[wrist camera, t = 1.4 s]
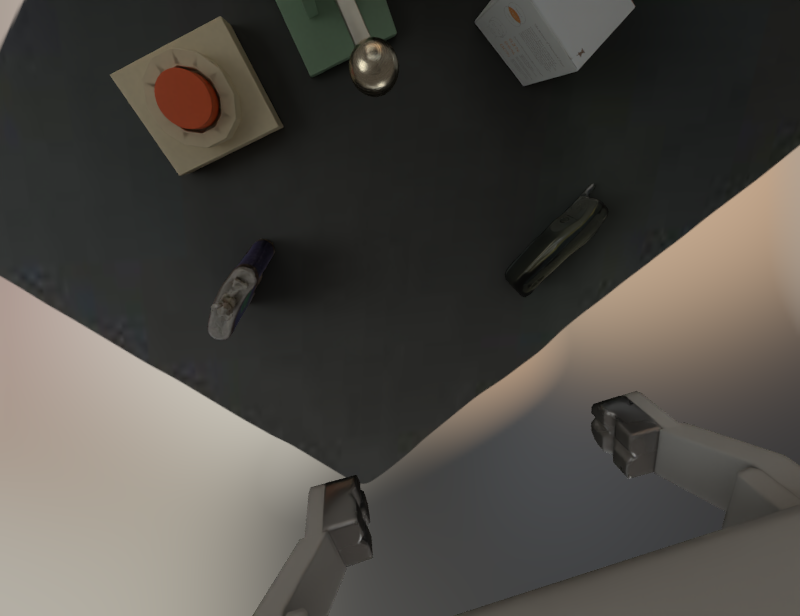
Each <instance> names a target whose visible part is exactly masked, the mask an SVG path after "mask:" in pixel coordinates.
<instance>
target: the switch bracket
mask: <svg viewBox="0 0 800 616" xmlns="http://www.w3.org/2000/svg"><path fill="white" fill-rule="evenodd" d="M355 1H356V3H357V6H358V8H359V10H360V13H361V15H362V17H363V19H364V22H365V24H366V26H367V29H368V31H369V33H370V36H371V37H379V38H382V39H384V40H385V41H386V40H388V39H390V38H392V37H394V36H396V33H397V31H396V28H395V25H394V23H393V20H392V17H391V14H390V11H389V8H388V5H387V2H386V0H355ZM276 3H277V5H278V7H279V9H280V11H281V13H282V16H283V18H284V20H285V22H286V24H287V27H288V29H289V31H290V33H291V35H292V37H293V40H294V42H295V44H296V46H297V48H298V51H299V53H300V55H301V57H302V59H303V61H304V64H305V66H306V68H307V70H308V72H309V75H310V76H311V78H313V77H315V76H317V75H319V74H321V73H323V72H324V71H326V70H328V69H330V68H332V67H334V66H336V65H338V64H340V63H342V62H344V61H346V60H348V59H350V55H351V52H352V50H353V48H354V47H355V46H354V44H353V42H352V39H351V37H350V35H349V32H348V30H347V28H346V25H345V23H344V21H343V19H342V16H341V14H340V12H339V9H338V7H337V5H336V2H335V0H276Z"/></svg>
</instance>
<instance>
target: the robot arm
mask: <svg viewBox="0 0 800 616" xmlns="http://www.w3.org/2000/svg"><path fill="white" fill-rule="evenodd" d="M591 413H592V414H593V415H594V416H595V419H594V420H593V421H592V423H591V430H592V433H593V436H594V439H595V440H596V442H597V444H598V445H599V446H600V447H601V449H602V450H603V451H605V452H607V453H610V454H611V455H613V462H614V463H615V465H616V466H617V467H618V468H619V469H620V470H621V471H622V472H623V473H624V475H625V476H626V477H627V478H628V479H629V478H634V477H637V476H641V475H644V474H648V473H651V472H654V473H655V474H657V475H658V476H660V477H662V478H664V479H666V480H668V481H670V482H672V483H673V484H675V485H677V486H679V487H681V488H683V489H685V490H687V491H688V492H690V493H692V494H694V495H696V496H698V497H700V498H701V499H703V500H705V501H707V502H709V503H711V504H713V505H714V506H716V507H718V508H720V509H722V510H724V511H726V514H725V518H724V521H723V526H722V529H721V530H718V531H715V532H712V533H709V534H706V535H703V536H699V537H696V538H693V539H690V540H687V541H684V542H681V543H678V544H675V545H672V546H668V547H665V548H662V549H659V550H656V551H653V552H650V553H647V554H644V555H640V556H637V557H634V558H632V559H628V560H625V561H622V562H619V563H616V564H612V565H609V566H606V567H603V568H600V569H597V570H594V571H591V572H588V573H585V574H581V575H578V576H575V577H572V578H569V579H566V580H563V581H560V582H557V583H553V584H550V585H547V586H544V587H541V588H538V589H535V590H532V591H529V592H526V593H523V594H520V595H516V596H513V597H510V598H507V599H504V600H501V601H498V602H495V603H492V604H489V605H485V606H482V607H479V608H476V609H473V610H470V611H467V612H464V613H460V614H457V615H454V616H800V465H798V464H797V463H795V462H794V461H792V460H791V459H789V458H788V457H786V456H785V455H782V454H779V453H776V452H773V451H770V450H767V449H764V448H761V447H757V446H755V445H751V444H748V443H745V442H742V441H739V440H736V439H733V438H730V437H727V436H724V435H721V434H718V433H715V432H712V431H709V430H706V429H703V428H700V427H697V426H693V425H690V424H687V423H681V424H680V423H678V422H677V421H676V420H675V419H673V418H672V417H671V416H670V415H668V414H667V413H666V412H665V411H663V410H662V409H661V408H659V407H658V406H657V405H656V404H654V403H653V402H652V401H651V400H649V399H648V398H647V397H646V396H644V395H643V394H642V393H640V392H637V391H635V392H632V393H628V394H625V395H622V396H618V397H615V398H611V399H608V400H605V401H602V402H599V403H595V404H593V406H592V411H591ZM369 523H370V516H369V509H368V503H367V500H366V497H365V494H364V491H362V490H360V481H359V479H358V477H357V475H354V476H350V477H347V478H343V479H339V480H335V481H332V482H328V483H325V484H322V485H318V486H314V487H311V489H310V491H309V496H308V507H307V519H306V530H305V538H302V539H300V540H299V542H298V543H297V545H296V547H295V548H294V550H293V552H292V553H291V555H290V556H289V558H288V559H287V561H286V563H285V564H284V566H283V568H282V569H281V571H280V572H279V574H278V576H277V577H276V579H275V580H274V582H273V584H272V585H271V587H270V589H269V590H268V592H267V593H266V595H265V596H264V598H263V600H262V601H261V603H260V604H259V606H258V608H257V609H256V611H255V613H254V614H253V616H328V614H329V612H330V609H331V607H332V604H333V602H334V600H335V597H336V595H337V592H338V590H339V587H340V585H341V582H342V579H343V577H344V575H345V572H346V567H348V566H351V565H354V564H357V563H360V562H363V561H365V560H369V559H372V558H373V551H372V539H371V534H370V532H369V529H368V525H369Z"/></svg>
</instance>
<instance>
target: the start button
mask: <svg viewBox="0 0 800 616" xmlns="http://www.w3.org/2000/svg"><path fill="white" fill-rule="evenodd" d="M154 93H155V99H156V102H157V105H158V107H159V109H160V110H161V112H162V113H163V115H164V116H165V117H166V118H167V119H168V120H169V121H171V122H172V123H173V124H175V125H177V126H179V127H182V128H186V129H203V128H207V127H209V126H210V125H212V124H213V123H214V121H215V120H216V118H217V116H218V112H219V103H218V98H217V95H216V93H215V91H214V89H213V88H212V86H211V85H210V84H209V82H208V81H207V80H206V79H204V78H203V77H202V76H200V75H198V74H196V73H194V72H191V71H189V70H186V69H183V68H169V69H167V70H165V71H163V72H162V73H161V74H160V75H159V76H158V78H157V80H156V82H155V87H154Z"/></svg>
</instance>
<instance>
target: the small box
mask: <svg viewBox="0 0 800 616" xmlns="http://www.w3.org/2000/svg"><path fill="white" fill-rule="evenodd" d="M634 8H635V5H634V3H633V2H632V0H491V1H490V2H489V3H488V5H487V6H486V7H485V8H484V10H483V11H482V12H481V14H480V15H479V16H478V17H477V19H476V20H475V24H476V25H477V26H478V28H479V29H480V30H481V32H482V33H483V34H484V36H485V37H486V38H487V39H488V41H489V42H490V43H491V45H492V46H493V47H494V48H495V50H496V51H497V52H498V54H499V55H500V56H501V58H502V59H503V60H504V62H505V63H506V64H507V65H508V67H509V68H510V69H511V71H512V72H513V73H514V74H515V76H516V77H517V78H518V80H519V81H520V82H521V84H522V85H523V86H526V85H530V84H533V83H537V82H540V81H544V80H547V79H551V78H555V77H559V76H562V75H566V74H569V73H573V72H576V71H578V70H579V69H580V68H581V67H582V65H583V64H584V63H585V62H586V61H587V60H588V59H589V58H590V57H591V56H592V54H593V53H594V52H595V51H596V50H597V49H598V48H599V47H600V46H601V44H602V43H603V42H604V41H605V40H606V39H607V38H608V37H609V36H610V34H611V33H612V32H613V31H614V30H615V29H616V28H617V27H618V26H619V25H620V23H621V22H622V21H623V20H624V19H625V18H626V17H627V16H628V15H629V13H630V12H631V11H632V10H633V9H634Z"/></svg>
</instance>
